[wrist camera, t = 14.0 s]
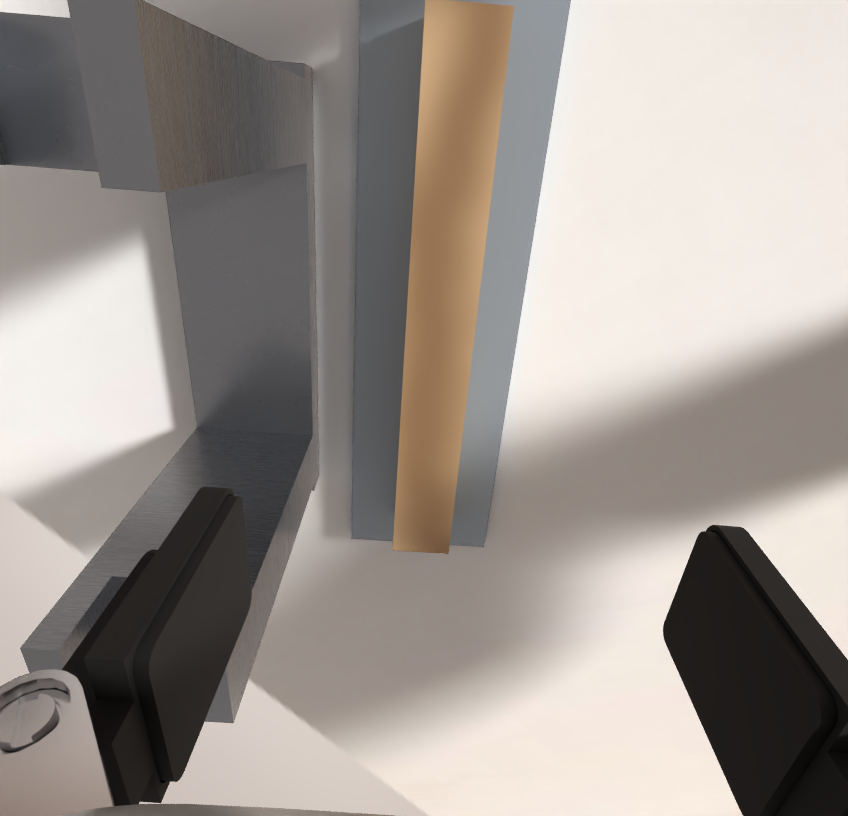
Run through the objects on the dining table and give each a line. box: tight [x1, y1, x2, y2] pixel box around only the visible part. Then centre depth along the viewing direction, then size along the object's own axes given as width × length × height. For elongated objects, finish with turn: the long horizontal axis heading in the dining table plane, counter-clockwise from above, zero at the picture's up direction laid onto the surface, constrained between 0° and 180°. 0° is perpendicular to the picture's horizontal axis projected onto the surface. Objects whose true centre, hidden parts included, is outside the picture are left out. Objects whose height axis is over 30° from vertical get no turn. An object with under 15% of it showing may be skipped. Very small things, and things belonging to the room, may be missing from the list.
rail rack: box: [0, 0, 319, 723], centre depth 20 cm, size 6×20×15 cm, turn 176°
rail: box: [393, 0, 514, 554], centre depth 25 cm, size 3×24×3 cm, turn 176°
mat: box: [352, 0, 571, 547], centre depth 26 cm, size 8×28×1 cm, turn 176°
